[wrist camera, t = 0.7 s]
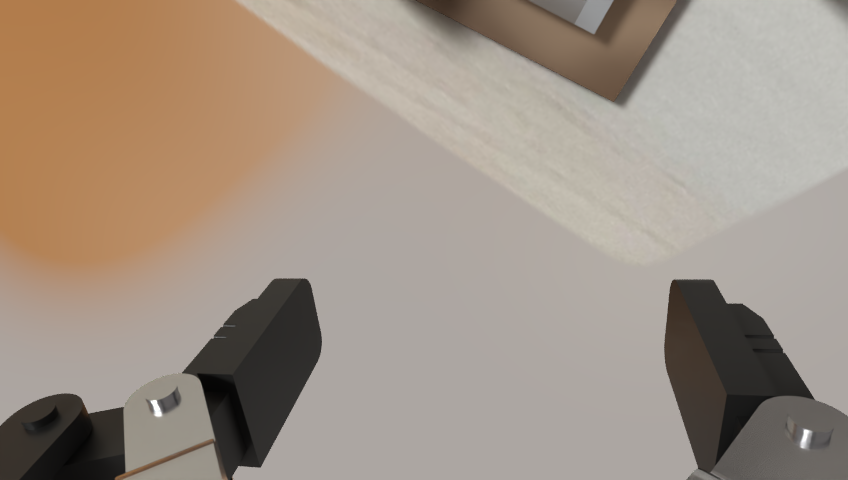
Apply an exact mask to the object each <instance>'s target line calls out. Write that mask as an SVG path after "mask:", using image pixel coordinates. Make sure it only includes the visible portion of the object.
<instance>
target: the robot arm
mask: <svg viewBox="0 0 848 480" xmlns="http://www.w3.org/2000/svg"><path fill="white" fill-rule="evenodd" d="M321 346H322V337H321V331H320V326H319V321H318V316H317V312H316V307H315V302H314V297H313V293H312V288H311V285H310V283H309V281H308V280H307V279H274V280H273V281H272V282H271V283H270V284H269V285H268V287H267V288H266V289H265V290H264V291H263V293H262V294H261V295H260V296H259V298H258V299H252V300H251V301H249V302H248V303H246V304H245V305H243V306H242V307H240V308H239V309H237V310H235V311H234V313H233V314H232V315H231V316H230V317H229V318H228V320H227V321H226V322H225V323H224V325H223V327H221V328H220V329H219V330H218V331H217V333H216V334H215V335H214V339H211V340H210V341H209V342H208V343H207V344H206V345H205V347H204V348H203V349H202V350H201V351H200V353H199V354H198V355H197V356H196V357H195V358H194V360H193V361H192V362H191V363H190V364H189V365H188V367H187V368H186V369H185V370H184V371H183V372H182V374H181V373H179V374H172V375H167V376H163V377H161V378H158V379H155V380H153V381H151V382H149V383H147V384H145V385H144V386H142V387H141V388H139V389H138V390H137V391H136V392H134V393H133V394H132V395H131V396H130V397H129V399H128V400H127V402H126V403H125V406H124V407H121V408H116V409H110V410H105V411H100V412H95V413H90V414H88V412H87V410H86V408H85V405H84V403H83V401H82V399H81V398H80V397H79V396H77V395H74V394H57V395H52V396H48V397H45V398H42V399H39V400H37V401H35V402H32V403H31V404H29V405H27V406H25V407H23V408H22V409H20V410H18V411H17V412H16V413H14V414H13V415H12V416H11V417H10V418H8V419H7V420H6V421H5V422H4V423H3V424H2V425H1V426H0V480H233V477H232V476H233V474H234V472H235V471H236V469H237V467H238V466H247V467H261V466H262V464H263V462H264V460H265V458H266V456H267V454H268V453H269V451H270V449H271V447H272V445H273V443H274V441H275V440H276V438H277V436H278V434H279V432H280V430H281V428H282V427H283V425H284V423H285V421H286V419H287V417H288V415H289V413H290V412H291V410H292V408H293V406H294V404H295V402H296V400H297V399H298V397H299V395H300V393H301V391H302V389H303V387H304V386H305V384H306V382H307V380H308V378H309V376H310V375H311V373H312V371H313V369H314V367H315V365H316V363H317V362H318V359H319V357H320V353H321ZM664 346H665V347H664V348H665V349H664V350H665V363H666V369H667V373H668V376H669V379H670V382H671V385H672V388H673V391H674V394H675V397H676V401H677V403H678V407H679V410H680V413H681V416H682V419H683V422H684V425H685V428H686V431H687V434H688V438H689V440H690V444H691V447H692V450H693V453H694V456H695V459H696V462H697V465H698V469H696V470H695V471H694V472H693V473H692V474H691V475H690V476H689V477H688V479H687V480H848V416H847V415H845V414H844V413H842V412H841V411H839V410H837V409H835V408H833V407H832V406H829V405H827V404H825V403H822V402H819V401H816V400H815V399H814V398H813V396H812V394H811V393H810V391H809V390H808V388H807V387H806V385H805V383H804V382H803V380H802V379H801V377H800V376H799V374H798V372H797V371H796V370H795V368H794V366H793V365H792V363H791V362H790V360H789V358H788V357H787V355H786V354H785V353H783V349H782V348H781V346H780V345H779V343H778V341H777V340H776V339H774V335H773V334H772V332H771V330H770V329H769V327H768V326H767V324H766V323H765V321H764V319H763V318H762V317H760V316H759V315H757V314H756V313H755V312H753V311H752V310H750V309H749V308H748V307H746V306H745V305H743V304H727V303H726V301H725V300H724V298H723V296H722V295H721V293H720V291H719V289H718V287H717V286H716V284H715V282H714V281H713V280H673V281H672V283H671V287H670V294H669V303H668V314H667V323H666V333H665V345H664Z"/></svg>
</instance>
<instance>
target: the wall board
mask: <svg viewBox="0 0 848 480" xmlns="http://www.w3.org/2000/svg"><path fill="white" fill-rule="evenodd" d="M416 1H418V2H420V3H422V4H424V5H426V6H428V7H430V8H432V9H434V10H436V11H438V12H440V13H441V14H443V15H445V16H447V17H449V18H451V19H453V20H455V21H457V22H459V23H461V24H463V25H465V26H467V27H469V28H471V29H473V30H475V31H476V32H478V33H480V34H482V35H484V36H486V37H488V38H490V39H492V40H494V41H496V42H498V43H500V44H502V45H504V46H506V47H508V48H510V49H511V50H513V51H515V52H517V53H519V54H521V55H523V56H525V57H527V58H529V59H531V60H533V61H535V62H537V63H539V64H541V65H543V66H545V67H547V68H548V69H550V70H552V71H554V72H556V73H558V74H560V75H562V76H564V77H566V78H568V79H570V80H572V81H574V82H576V83H578V84H580V85H582V86H583V87H585V88H587V89H589V90H591V91H593V92H595V93H597V94H599V95H601V96H603V97H605V98H607V99H609V100H611V101H613V102H614V101H615V99H616V98H617V96H618V94H619V93H620V91H621V90H622V88H623V86H624V85H625V83H626V82H627V80H628V78H629V77H630V75H631V74H632V72H633V70H634V69H635V67H636V66H637V64H638V62H639V61H640V59H641V58H642V56H643V54H644V53H645V51H646V50H647V48H648V46H649V45H650V43H651V42H652V40H653V38H654V37H655V35H656V33H657V32H658V30H659V29H660V27H661V25H662V24H663V22H664V21H665V19H666V17H667V16H668V14H669V13H670V11H671V9H672V8H673V6H674V5H675V3H676V1H677V0H416Z"/></svg>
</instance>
